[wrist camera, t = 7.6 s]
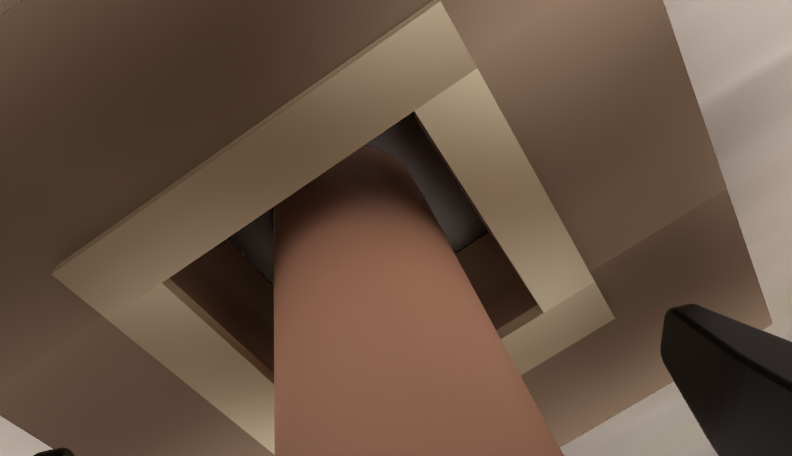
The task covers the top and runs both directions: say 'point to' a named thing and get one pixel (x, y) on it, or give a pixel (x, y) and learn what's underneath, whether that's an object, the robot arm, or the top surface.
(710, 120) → the top surface
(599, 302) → the socket block
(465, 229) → the top surface
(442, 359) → the peg
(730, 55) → the top surface
